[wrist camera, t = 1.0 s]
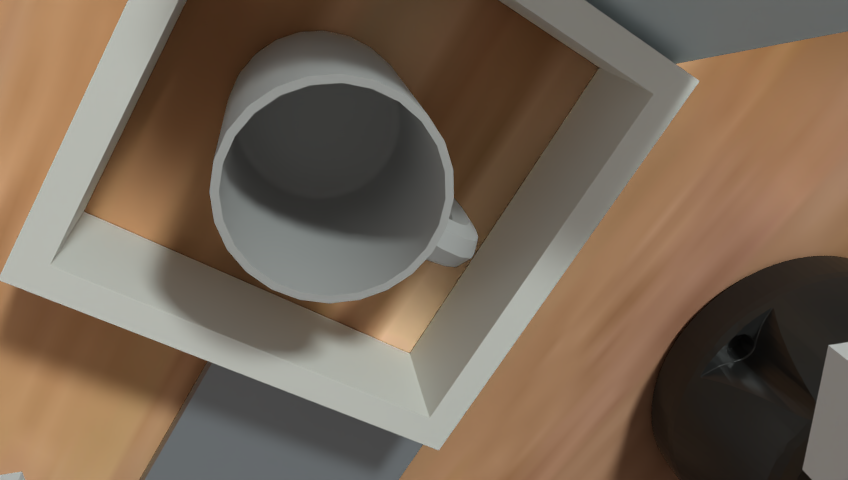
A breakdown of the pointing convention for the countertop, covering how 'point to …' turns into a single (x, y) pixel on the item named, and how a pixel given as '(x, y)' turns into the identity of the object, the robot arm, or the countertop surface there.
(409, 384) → the cold frame
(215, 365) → the slate tile
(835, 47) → the countertop surface
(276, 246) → the cup
